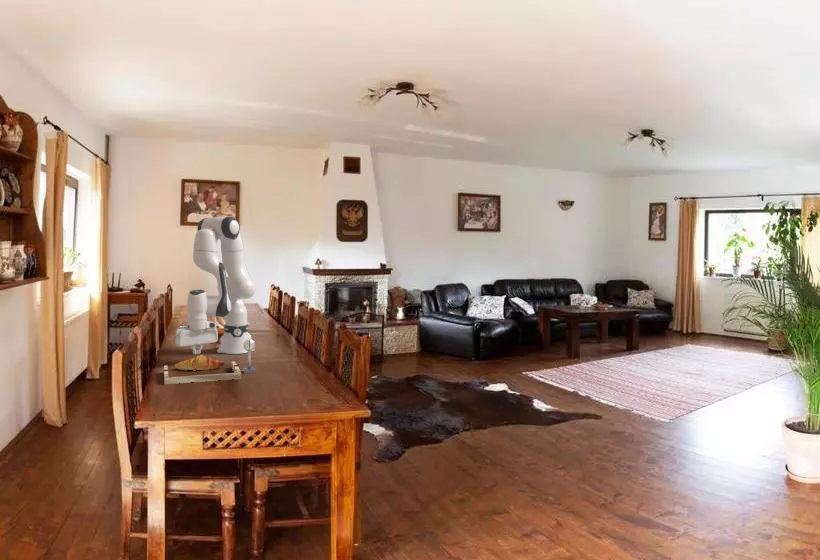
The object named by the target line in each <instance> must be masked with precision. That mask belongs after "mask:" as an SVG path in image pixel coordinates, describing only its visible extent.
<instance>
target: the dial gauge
mask: <svg viewBox="0 0 820 560" xmlns="http://www.w3.org/2000/svg"><path fill="white" fill-rule="evenodd" d="M243 346H244V349H245V350H247V351H248V352H247V367H242V373H243V374H244V373H245V374H256V373H257V368H255V367H254V366H251V365H252V364H251V362H252V360H251V359H252V358H251V357H252V356H251V355H252V352H253V351H252V350H253V349H255V348H256V342H255V341H254V340H253V339H251V340H246V341H245V342H244V345H243Z"/></svg>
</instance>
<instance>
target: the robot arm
mask: <svg viewBox="0 0 820 560" xmlns="http://www.w3.org/2000/svg"><path fill="white" fill-rule="evenodd" d="M240 227H241V226H240V223H239V221H238V220H237V219H236V218H235V217H233V216H213V217H205V218H202V219H200V220H199V222H198V225H197V231H196V233H195V235H194V241H193V242H194V243H193V250H192V251H193V253H192V254H193V255H192V257H193V263H194V264H195V266H196V267H197V268H199V269H200V270H201V271H204V272H207V273H209V274H211V275H212V276H214V278H215V279H216V283H217V286H216V287H217V291H218V295H207V292H206V291H205V290H204V289H193V290H190V291H189V292H188V295H187V301H186V302H187V303H186V310H187V316H186V317H187V318H186V325H183V326H182V325H181V326H178V328H176V330H175V342H174V344H175V346H176V347H179V348H182V347H189V346H190V348H191V350H192V354H193V355H201V353H202V351H201V350H202V349H203V347H204V344H205V345H206V344H214V343H217V342H218V340H219V347H218V348H217V350H216V352H217V353H220V354H227V355H228V354H229V355H232V354H233V355H234V354H235V355H238V354H240V355H241V354H248V351H247V350H245V349H244V346H243V345H244V342H245V341H246V340H252V335H251V334H250V333H249V324H248V310H247V307H246V306H245V304H244V303H245V302H244V301H243V300H246V299H251V298H252V297H253V296H254V295H255V292H256V289H257V288H256V285H255V283H254V282H253V280H252V279H251V277H250V275H249V272H248V270H247V266H246V260H245V250H244V244H243V239H242V235H241V233H240V229H241V228H240ZM219 240H220V252H221V259H222V260H221V261H220V259H219V255H218V241H219ZM207 316H208V317H219V318H224V325H223V332H224V333H223V335H221V336H220V338H219V335H218V334H219V333H218V329H217V325H218V324H217V322H213V321H210V320H208V317H207ZM197 346H198V348H197V349H196V347H197ZM253 351H255V348H254V349H253V350H252V351H251V352H253Z"/></svg>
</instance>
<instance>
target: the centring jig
mask: <svg viewBox="0 0 820 560" xmlns="http://www.w3.org/2000/svg"><path fill="white" fill-rule="evenodd" d="M168 367H169V366H168V365H164V366H163V379H164V380H163V381H164V382H163V383H164V384H163V385H176V384H177V385H178V384H179V383H180V384H192V383H191V382H194V383H204V382H206V381H207V382H218V380H221V381H233V380H232V379H234V380H242V372H241V369H240V368H239V365H238V364H237V363H236V361H231V369H233V370H232V371H234V372H229V373H227V372H226V373H214V374H213V373H212V374H201V375H200V374H198V375H185V376H171V377H170V376H169V368H168Z"/></svg>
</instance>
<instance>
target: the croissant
mask: <svg viewBox="0 0 820 560" xmlns="http://www.w3.org/2000/svg"><path fill="white" fill-rule="evenodd" d="M224 365H225V361H221V360H218V359H213V358H212V357H208V356H207V355H205V354H199V355H197V356H196V357H191V358H188V359H185V360H182V361H181V360H180V361H179V362H178V363H175V364H174V368H175V369H177V370H180V371H187V370H193V371H192V372H197V371H196V370H204V371H210V370H209V369H211V370H215V369H220V368H221V367H223V366H224Z"/></svg>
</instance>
